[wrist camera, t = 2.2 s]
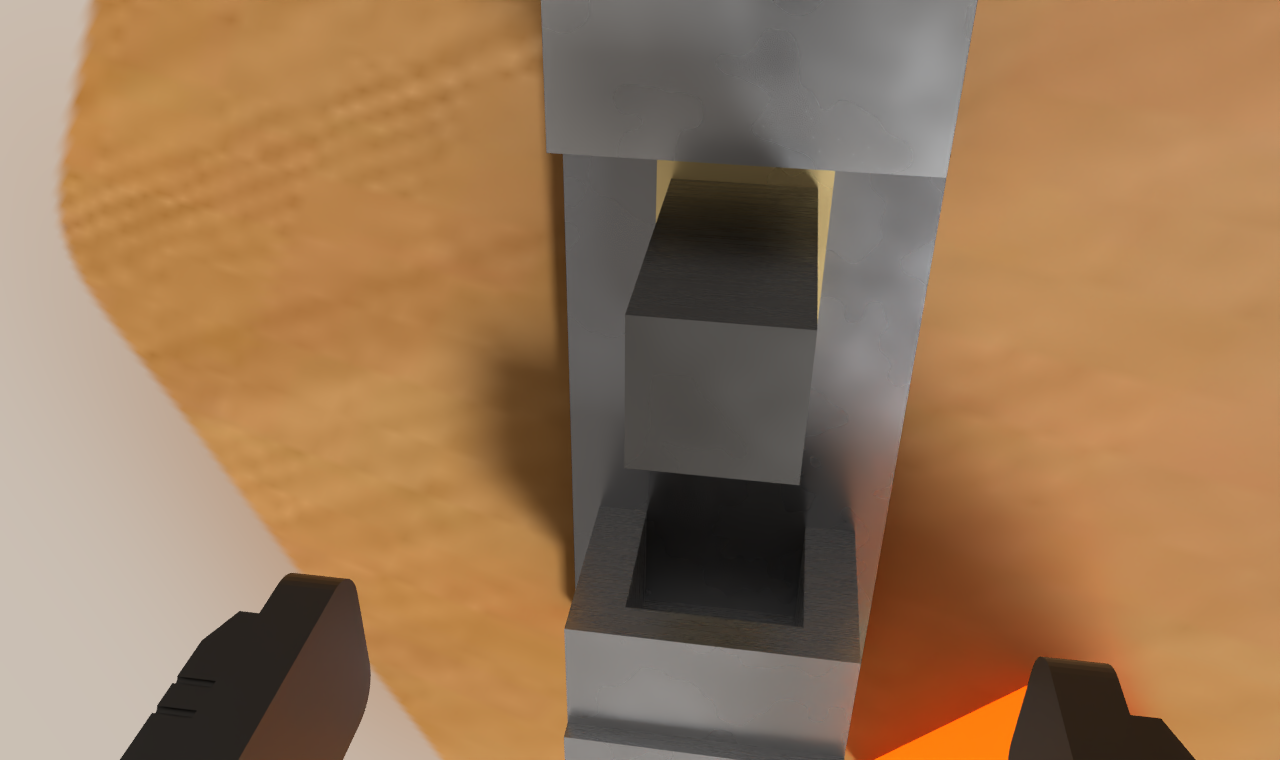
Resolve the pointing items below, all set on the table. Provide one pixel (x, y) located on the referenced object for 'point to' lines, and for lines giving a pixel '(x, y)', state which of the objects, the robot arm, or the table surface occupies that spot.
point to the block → (726, 321)
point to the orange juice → (969, 735)
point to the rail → (842, 371)
